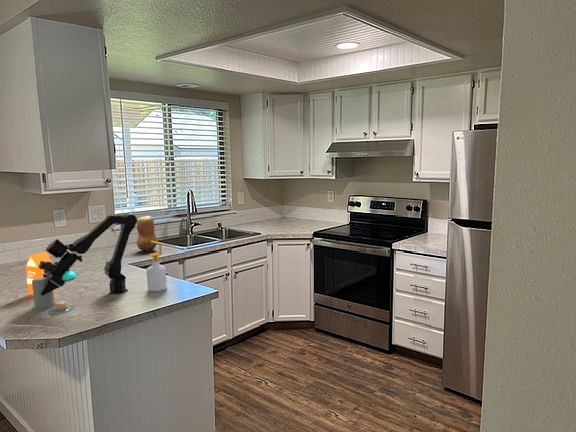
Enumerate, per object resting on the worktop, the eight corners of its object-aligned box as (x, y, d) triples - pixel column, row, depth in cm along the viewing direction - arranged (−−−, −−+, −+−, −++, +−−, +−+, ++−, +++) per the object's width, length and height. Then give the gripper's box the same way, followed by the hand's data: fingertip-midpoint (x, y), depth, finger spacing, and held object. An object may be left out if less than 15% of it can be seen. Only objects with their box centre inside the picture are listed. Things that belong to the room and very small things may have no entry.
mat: (62, 303, 196) (62, 303, 196) (46, 311, 187) (46, 310, 187) (43, 303, 198) (43, 302, 198) (26, 310, 188) (26, 310, 188)
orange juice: (28, 295, 211) (24, 255, 208) (44, 290, 219) (40, 251, 216) (40, 296, 208) (35, 256, 205) (55, 291, 216) (51, 252, 213)
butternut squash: (133, 252, 303) (130, 216, 300) (149, 248, 314) (147, 214, 311) (146, 254, 296) (143, 218, 292) (161, 250, 306) (159, 215, 303)
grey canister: (58, 303, 195) (55, 277, 194) (46, 309, 188) (43, 281, 186) (43, 303, 197) (40, 276, 195) (30, 309, 189) (27, 281, 188)
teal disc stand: (79, 307, 192) (78, 299, 191) (63, 315, 182) (63, 307, 181) (59, 306, 193) (58, 298, 193) (42, 314, 184) (41, 306, 183)
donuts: (59, 264, 231) (50, 261, 236) (61, 282, 232) (51, 279, 238) (77, 260, 239) (68, 258, 244) (79, 277, 240) (69, 275, 246)
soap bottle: (147, 288, 218) (143, 240, 214) (165, 285, 221) (162, 238, 218) (148, 292, 210) (145, 243, 206) (168, 290, 213) (165, 241, 210)
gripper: (45, 250, 199) (20, 278, 194) (53, 257, 184) (26, 287, 179) (66, 264, 205) (42, 291, 200) (75, 271, 190) (49, 301, 185)
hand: (39, 292), depth 191 cm, fingers open, 8 cm apart
